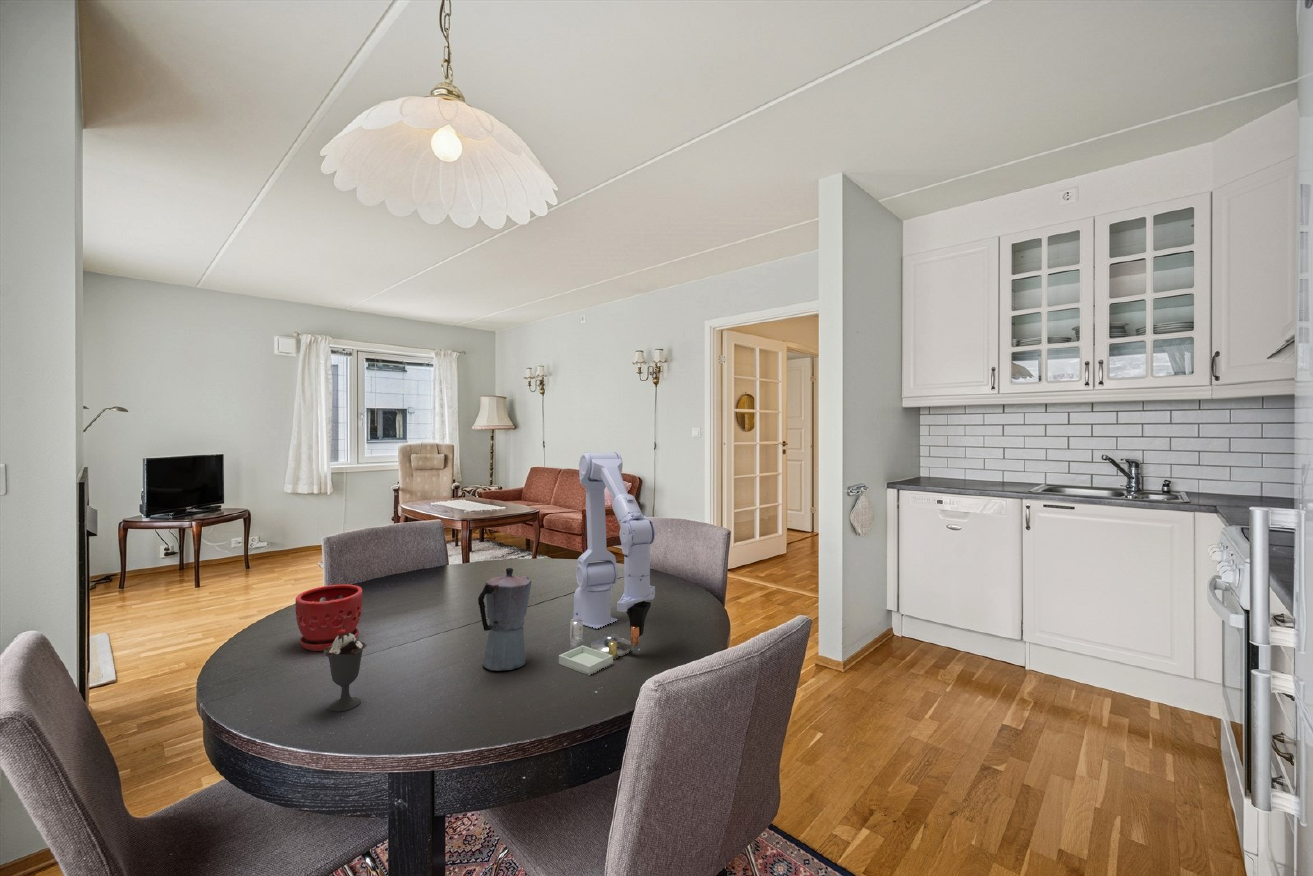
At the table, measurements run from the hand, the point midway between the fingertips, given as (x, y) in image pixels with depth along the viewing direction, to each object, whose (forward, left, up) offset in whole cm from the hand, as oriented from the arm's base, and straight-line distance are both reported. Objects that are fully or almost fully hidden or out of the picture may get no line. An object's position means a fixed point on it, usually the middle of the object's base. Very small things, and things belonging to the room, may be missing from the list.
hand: (636, 635), depth 119 cm
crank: (-3, -2, -3) cm, 4 cm away
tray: (-5, -11, -4) cm, 13 cm away
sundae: (-26, -50, -4) cm, 56 cm away
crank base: (-6, -2, -4) cm, 7 cm away
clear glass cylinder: (-12, -7, -4) cm, 14 cm away
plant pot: (-58, -40, -4) cm, 71 cm away
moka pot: (-18, -22, -4) cm, 29 cm away
